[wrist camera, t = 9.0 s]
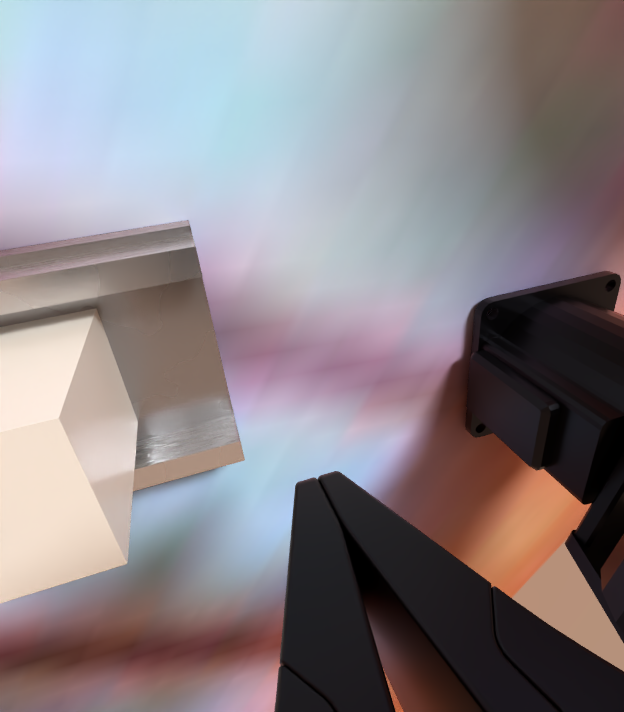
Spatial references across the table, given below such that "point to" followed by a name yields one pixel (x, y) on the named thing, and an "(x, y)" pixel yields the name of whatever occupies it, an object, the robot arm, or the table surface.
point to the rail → (140, 336)
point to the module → (62, 454)
